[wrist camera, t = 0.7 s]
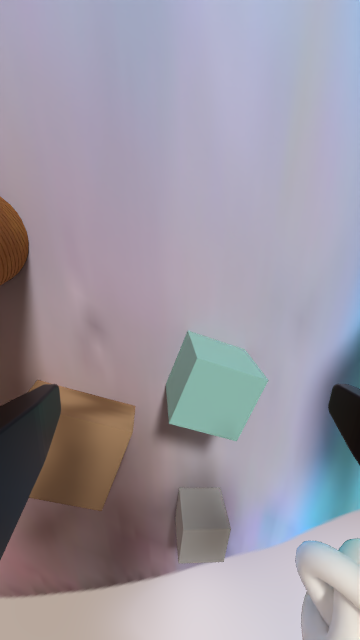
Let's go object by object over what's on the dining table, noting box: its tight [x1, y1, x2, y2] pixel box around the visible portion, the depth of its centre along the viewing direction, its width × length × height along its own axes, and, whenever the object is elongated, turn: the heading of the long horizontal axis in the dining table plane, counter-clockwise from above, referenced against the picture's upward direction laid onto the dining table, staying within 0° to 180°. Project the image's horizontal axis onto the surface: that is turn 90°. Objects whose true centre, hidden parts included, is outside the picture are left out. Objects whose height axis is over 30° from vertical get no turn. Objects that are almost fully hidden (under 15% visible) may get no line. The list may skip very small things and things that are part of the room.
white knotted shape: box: [295, 539, 360, 640], centre depth 27 cm, size 11×12×9 cm
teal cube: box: [166, 331, 268, 441], centre depth 20 cm, size 5×5×5 cm
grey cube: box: [175, 488, 231, 563], centre depth 25 cm, size 4×4×4 cm
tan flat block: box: [28, 380, 135, 511], centre depth 22 cm, size 8×8×4 cm
